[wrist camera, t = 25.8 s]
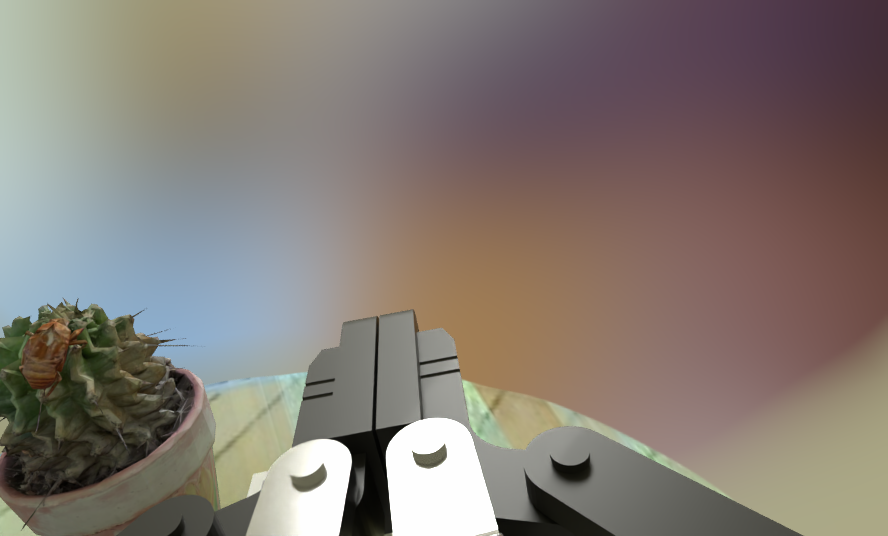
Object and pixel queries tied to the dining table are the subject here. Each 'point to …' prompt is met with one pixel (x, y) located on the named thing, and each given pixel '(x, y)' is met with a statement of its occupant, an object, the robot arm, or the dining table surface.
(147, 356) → the potted plant
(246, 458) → the dining table surface
